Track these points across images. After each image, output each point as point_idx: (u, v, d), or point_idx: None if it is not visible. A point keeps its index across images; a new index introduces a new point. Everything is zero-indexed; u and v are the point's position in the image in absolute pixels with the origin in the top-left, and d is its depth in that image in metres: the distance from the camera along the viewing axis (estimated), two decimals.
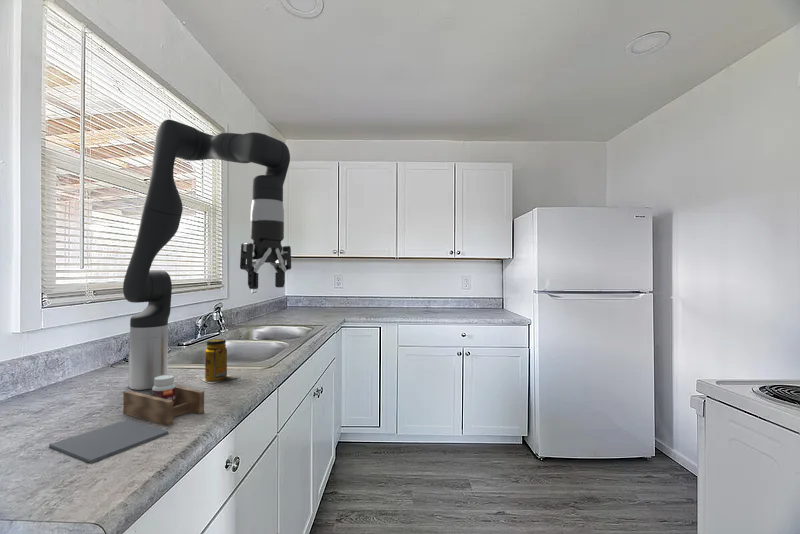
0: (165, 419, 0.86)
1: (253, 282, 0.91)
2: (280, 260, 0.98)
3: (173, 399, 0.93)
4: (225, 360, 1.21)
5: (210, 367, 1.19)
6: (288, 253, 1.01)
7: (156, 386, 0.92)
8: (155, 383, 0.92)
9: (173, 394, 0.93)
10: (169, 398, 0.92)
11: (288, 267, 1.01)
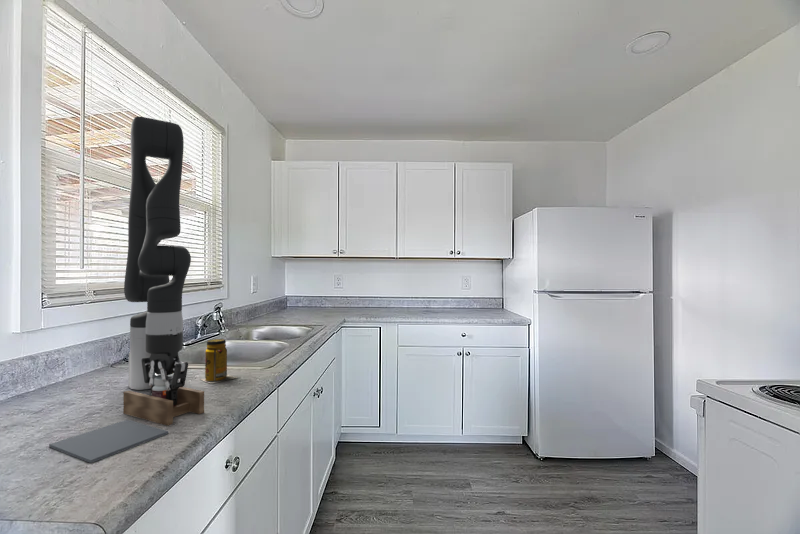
0: (165, 419, 0.86)
1: None
2: None
3: None
4: (225, 360, 1.21)
5: (210, 367, 1.19)
6: None
7: (156, 386, 0.92)
8: (155, 383, 0.92)
9: None
10: None
11: None
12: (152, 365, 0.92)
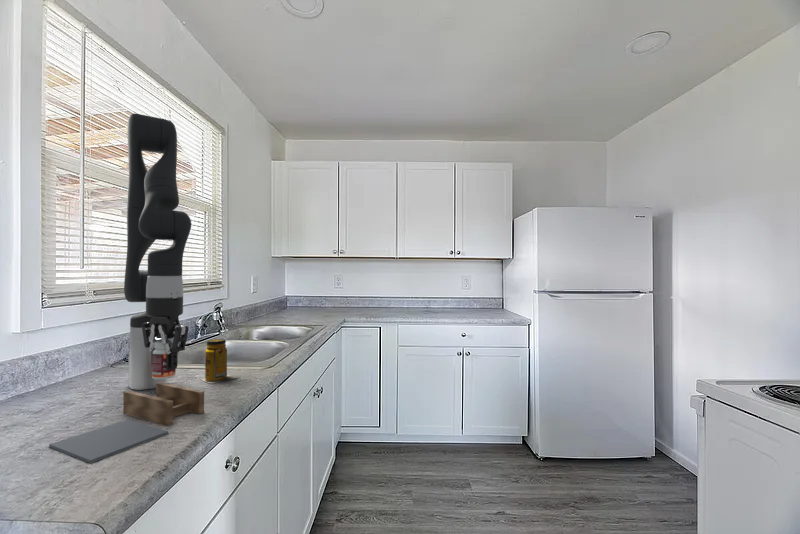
0: (165, 419, 0.86)
1: None
2: None
3: None
4: (225, 360, 1.21)
5: (210, 367, 1.19)
6: None
7: (156, 349, 0.92)
8: (155, 346, 0.92)
9: None
10: None
11: None
12: (152, 329, 0.93)
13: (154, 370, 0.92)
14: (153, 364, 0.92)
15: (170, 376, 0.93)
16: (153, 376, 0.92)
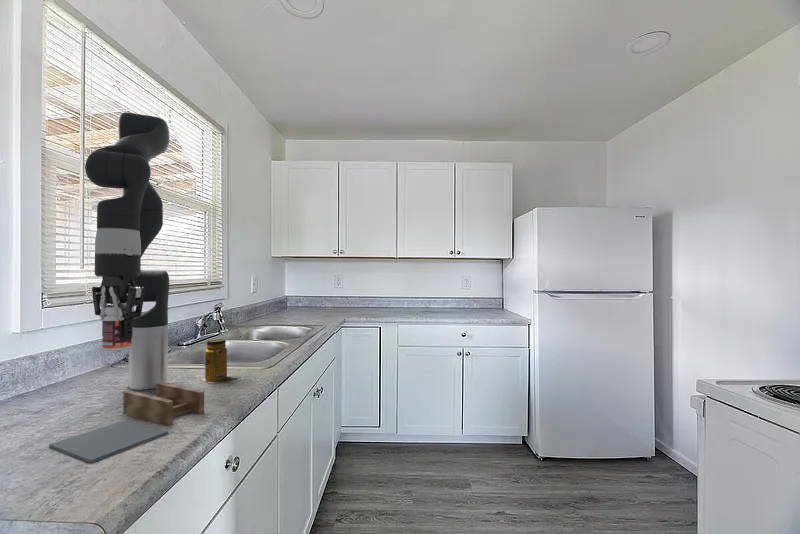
0: (165, 419, 0.86)
1: None
2: None
3: None
4: (225, 360, 1.21)
5: (210, 367, 1.19)
6: None
7: (107, 316, 0.78)
8: (106, 312, 0.78)
9: None
10: None
11: None
12: (103, 292, 0.79)
13: (104, 340, 0.78)
14: (103, 333, 0.78)
15: (124, 347, 0.79)
16: (103, 347, 0.78)
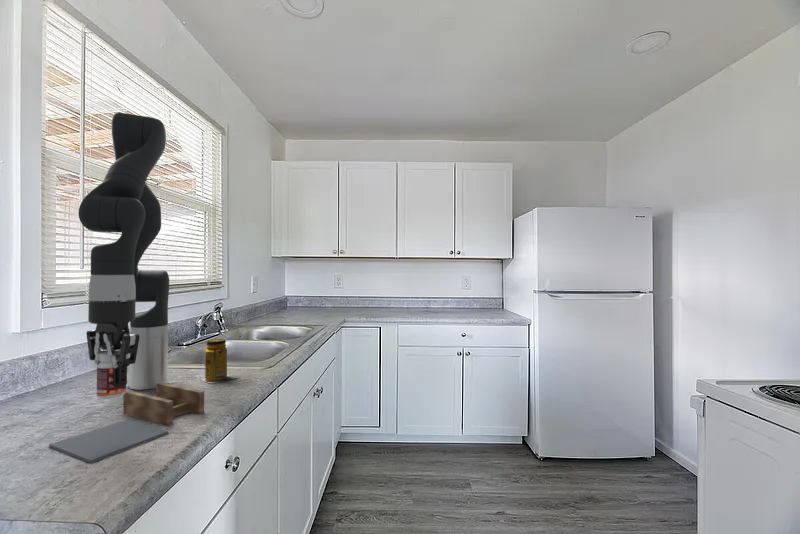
0: (165, 419, 0.86)
1: None
2: None
3: None
4: (225, 360, 1.21)
5: (210, 367, 1.19)
6: None
7: (101, 363, 0.77)
8: (100, 359, 0.77)
9: None
10: None
11: None
12: (97, 338, 0.78)
13: (98, 387, 0.77)
14: (97, 380, 0.77)
15: (118, 394, 0.78)
16: (97, 395, 0.77)
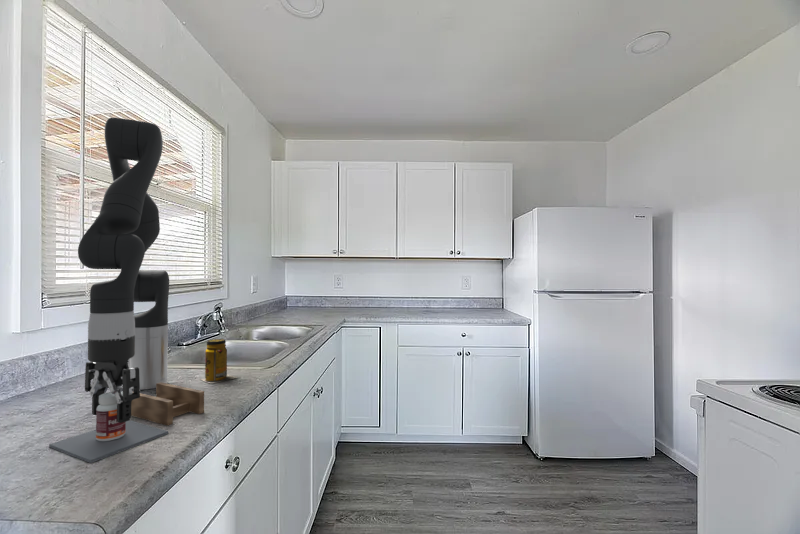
0: (165, 419, 0.86)
1: None
2: None
3: None
4: (225, 360, 1.21)
5: (210, 367, 1.19)
6: None
7: (101, 405, 0.77)
8: (100, 402, 0.77)
9: None
10: None
11: None
12: (96, 375, 0.78)
13: (98, 430, 0.77)
14: (97, 423, 0.77)
15: (118, 436, 0.78)
16: (97, 437, 0.77)
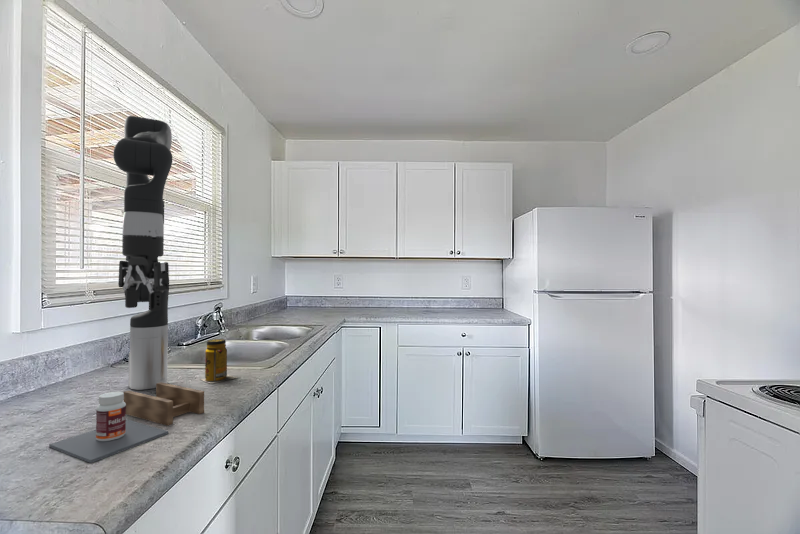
0: (165, 419, 0.86)
1: None
2: None
3: (122, 420, 0.79)
4: (225, 360, 1.21)
5: (210, 367, 1.19)
6: None
7: (101, 405, 0.77)
8: (100, 402, 0.77)
9: (122, 414, 0.79)
10: (117, 419, 0.78)
11: None
12: (129, 270, 0.86)
13: (98, 430, 0.77)
14: (97, 423, 0.77)
15: (118, 436, 0.78)
16: (97, 437, 0.77)
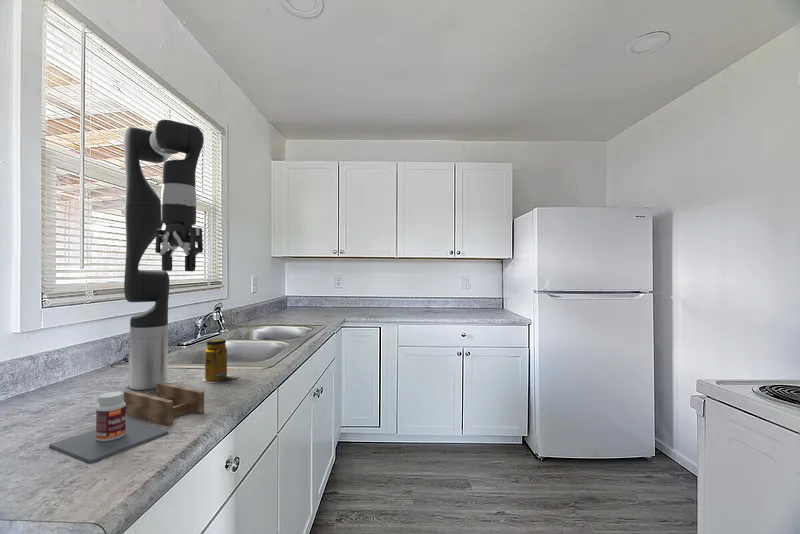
0: (165, 419, 0.86)
1: None
2: None
3: (122, 420, 0.79)
4: (225, 360, 1.21)
5: (210, 367, 1.19)
6: None
7: (101, 405, 0.77)
8: (100, 402, 0.77)
9: (122, 414, 0.79)
10: (117, 419, 0.78)
11: None
12: (167, 236, 0.97)
13: (98, 430, 0.77)
14: (97, 423, 0.77)
15: (118, 436, 0.78)
16: (97, 437, 0.77)
